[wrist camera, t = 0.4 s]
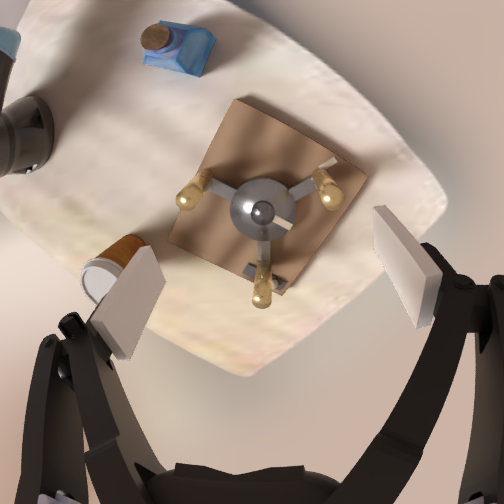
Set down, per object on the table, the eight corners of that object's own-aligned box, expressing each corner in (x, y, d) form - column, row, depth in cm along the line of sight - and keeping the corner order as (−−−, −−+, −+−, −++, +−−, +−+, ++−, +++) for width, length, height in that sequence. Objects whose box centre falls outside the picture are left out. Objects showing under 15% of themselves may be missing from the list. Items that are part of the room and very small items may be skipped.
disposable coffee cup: (105, 228, 46) (69, 263, 35) (150, 224, 45) (118, 263, 34) (119, 272, 50) (90, 312, 40) (162, 272, 50) (138, 317, 39)
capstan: (175, 225, 42) (152, 258, 34) (227, 116, 33) (211, 120, 25) (267, 270, 45) (265, 311, 36) (332, 173, 36) (349, 196, 28)
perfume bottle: (216, 39, 30) (192, 16, 19) (199, 77, 33) (170, 68, 22) (176, 30, 29) (140, 9, 19) (161, 67, 32) (120, 59, 22)
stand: (171, 235, 46) (163, 246, 42) (236, 98, 34) (232, 98, 31) (281, 288, 49) (282, 302, 46) (364, 173, 38) (372, 179, 35)
